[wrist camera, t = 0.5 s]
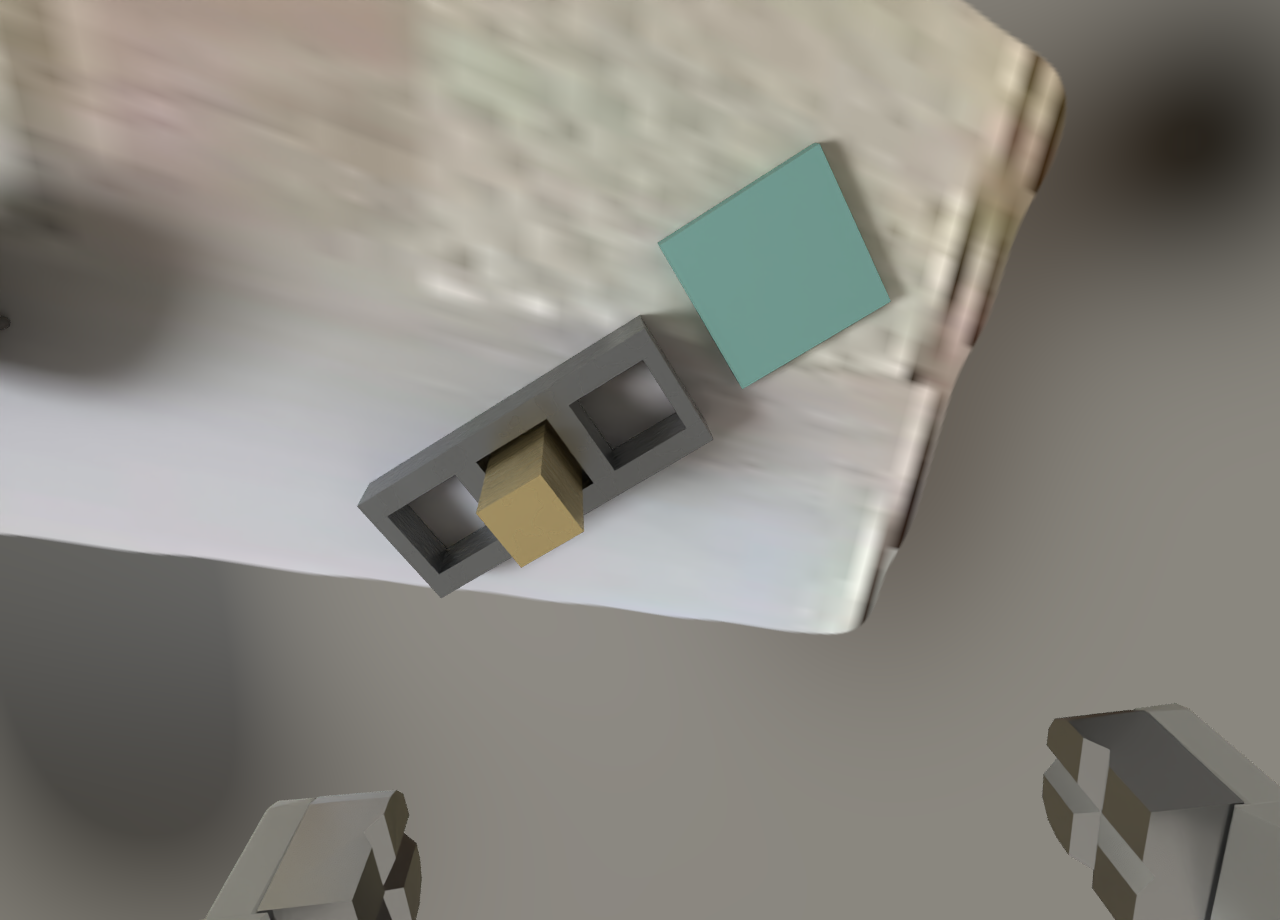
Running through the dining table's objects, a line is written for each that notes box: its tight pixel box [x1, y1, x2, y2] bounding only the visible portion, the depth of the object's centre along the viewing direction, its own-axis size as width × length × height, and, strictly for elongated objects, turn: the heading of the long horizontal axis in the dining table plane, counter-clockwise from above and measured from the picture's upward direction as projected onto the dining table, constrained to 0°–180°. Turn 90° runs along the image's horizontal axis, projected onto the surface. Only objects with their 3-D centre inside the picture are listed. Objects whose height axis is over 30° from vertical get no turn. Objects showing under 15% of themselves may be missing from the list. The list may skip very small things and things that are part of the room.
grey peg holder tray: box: [357, 315, 713, 598], centre depth 45 cm, size 8×20×3 cm, turn 121°
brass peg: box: [476, 419, 584, 568], centre depth 43 cm, size 4×4×9 cm
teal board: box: [658, 143, 891, 389], centre depth 43 cm, size 10×10×1 cm
